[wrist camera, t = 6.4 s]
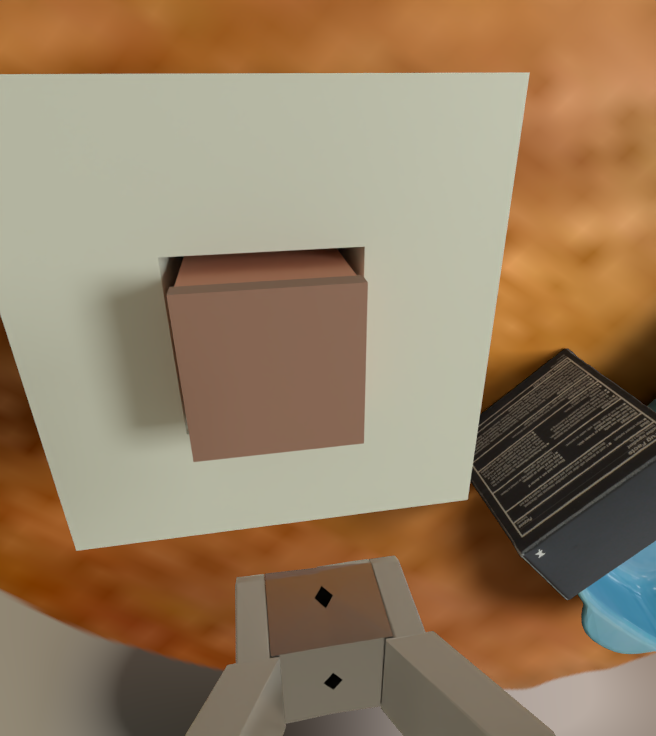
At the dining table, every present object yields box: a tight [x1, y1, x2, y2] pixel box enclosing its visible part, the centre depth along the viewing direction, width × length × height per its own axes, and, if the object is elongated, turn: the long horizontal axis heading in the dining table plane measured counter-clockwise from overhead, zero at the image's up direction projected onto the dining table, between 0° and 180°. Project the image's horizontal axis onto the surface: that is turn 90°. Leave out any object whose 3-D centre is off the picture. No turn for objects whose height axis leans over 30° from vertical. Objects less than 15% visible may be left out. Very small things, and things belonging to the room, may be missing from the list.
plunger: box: [167, 248, 368, 462], centre depth 22 cm, size 6×6×12 cm
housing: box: [0, 73, 529, 551], centre depth 24 cm, size 19×19×10 cm
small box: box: [470, 349, 656, 600], centre depth 32 cm, size 11×6×10 cm, turn 131°
